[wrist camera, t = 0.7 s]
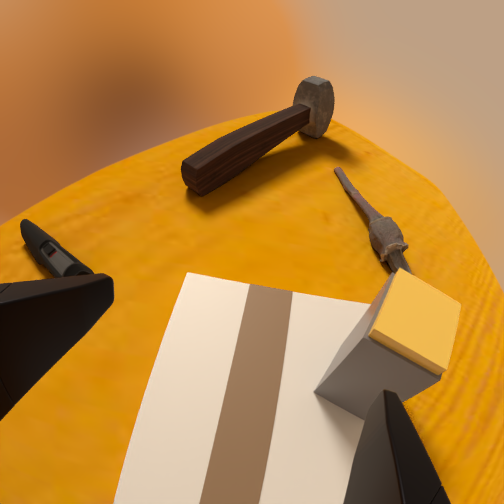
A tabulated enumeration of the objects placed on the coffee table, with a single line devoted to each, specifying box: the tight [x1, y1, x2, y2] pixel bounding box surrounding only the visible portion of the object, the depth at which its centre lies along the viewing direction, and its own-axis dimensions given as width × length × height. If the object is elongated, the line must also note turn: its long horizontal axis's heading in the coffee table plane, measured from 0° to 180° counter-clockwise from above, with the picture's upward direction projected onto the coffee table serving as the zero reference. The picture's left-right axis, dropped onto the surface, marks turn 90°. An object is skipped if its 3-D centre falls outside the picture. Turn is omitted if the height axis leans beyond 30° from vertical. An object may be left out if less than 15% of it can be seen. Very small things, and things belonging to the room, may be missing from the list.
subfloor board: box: [113, 272, 371, 504], centre depth 19 cm, size 27×20×1 cm
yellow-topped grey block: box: [314, 268, 461, 421], centre depth 18 cm, size 5×5×11 cm
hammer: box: [181, 76, 334, 196], centre depth 42 cm, size 5×11×30 cm
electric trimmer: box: [20, 219, 94, 278], centre depth 28 cm, size 4×16×3 cm, turn 58°
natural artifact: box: [334, 167, 412, 274], centre depth 35 cm, size 4×23×4 cm
